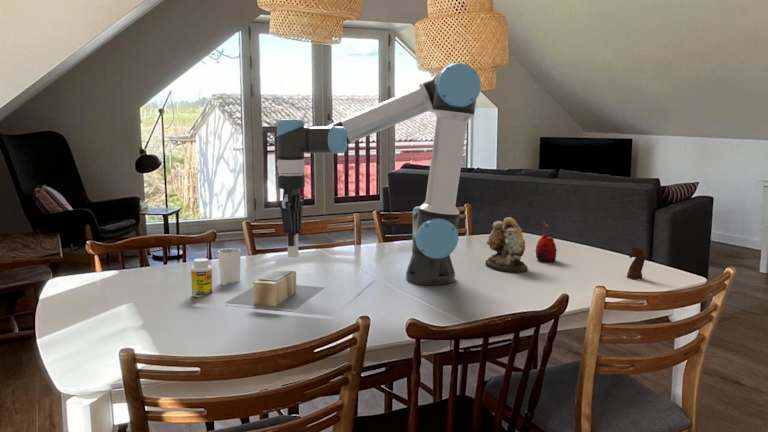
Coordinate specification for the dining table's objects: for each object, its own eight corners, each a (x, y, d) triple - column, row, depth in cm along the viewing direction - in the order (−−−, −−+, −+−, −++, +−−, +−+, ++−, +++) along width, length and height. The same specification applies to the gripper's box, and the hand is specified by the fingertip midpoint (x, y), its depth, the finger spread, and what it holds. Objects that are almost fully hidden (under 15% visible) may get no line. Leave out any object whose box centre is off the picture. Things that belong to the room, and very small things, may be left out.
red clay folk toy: (560, 261, 223) (562, 219, 221) (546, 264, 219) (549, 221, 217) (543, 257, 229) (545, 216, 227) (530, 259, 225) (532, 218, 223)
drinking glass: (245, 281, 192) (245, 249, 191) (233, 287, 186) (232, 253, 185) (226, 279, 195) (225, 247, 193) (214, 284, 188) (213, 252, 187)
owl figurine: (474, 263, 219) (476, 214, 217) (501, 260, 225) (503, 212, 222) (508, 274, 204) (510, 222, 201) (536, 271, 209) (538, 220, 207)
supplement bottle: (195, 299, 174) (194, 262, 172) (189, 294, 178) (188, 258, 177) (215, 296, 177) (214, 260, 175) (209, 291, 181) (207, 256, 180)
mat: (325, 290, 184) (325, 287, 184) (295, 312, 163) (295, 309, 163) (262, 284, 189) (262, 282, 189) (225, 305, 168) (225, 302, 168)
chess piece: (630, 275, 204) (632, 244, 203) (646, 278, 201) (648, 247, 199) (624, 277, 201) (626, 247, 199) (640, 280, 197) (642, 249, 196)
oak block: (296, 270, 177) (274, 282, 164) (296, 292, 178) (275, 306, 165) (276, 268, 179) (253, 280, 166) (276, 290, 180) (254, 304, 167)
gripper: (287, 172, 185) (289, 251, 189) (269, 176, 173) (271, 260, 176) (311, 172, 183) (313, 252, 187) (295, 176, 171) (297, 262, 174)
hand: (293, 256), depth 182 cm, fingers closed
